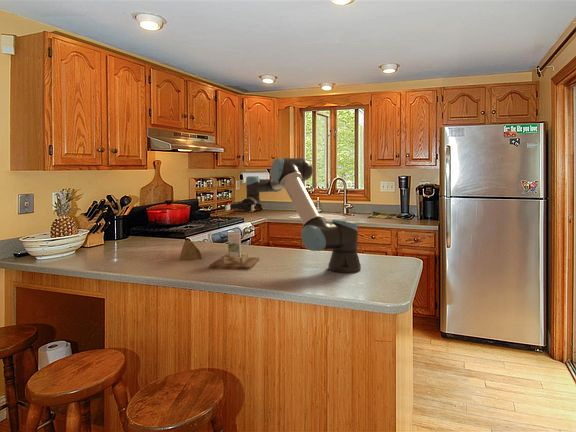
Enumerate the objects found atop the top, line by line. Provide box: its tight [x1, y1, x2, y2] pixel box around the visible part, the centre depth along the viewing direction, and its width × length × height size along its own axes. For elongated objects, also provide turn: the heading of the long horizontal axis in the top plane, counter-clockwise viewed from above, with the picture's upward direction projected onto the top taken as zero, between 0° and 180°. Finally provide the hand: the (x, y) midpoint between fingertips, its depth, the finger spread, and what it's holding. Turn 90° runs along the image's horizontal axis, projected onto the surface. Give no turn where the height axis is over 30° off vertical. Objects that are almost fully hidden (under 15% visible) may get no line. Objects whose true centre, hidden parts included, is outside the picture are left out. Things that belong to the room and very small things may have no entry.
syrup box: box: [227, 231, 242, 257], centre depth 215 cm, size 6×6×14 cm
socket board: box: [208, 252, 260, 270], centre depth 216 cm, size 20×20×4 cm
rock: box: [179, 239, 202, 261], centre depth 229 cm, size 11×9×10 cm
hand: (238, 208), depth 223 cm, fingers open, 13 cm apart
